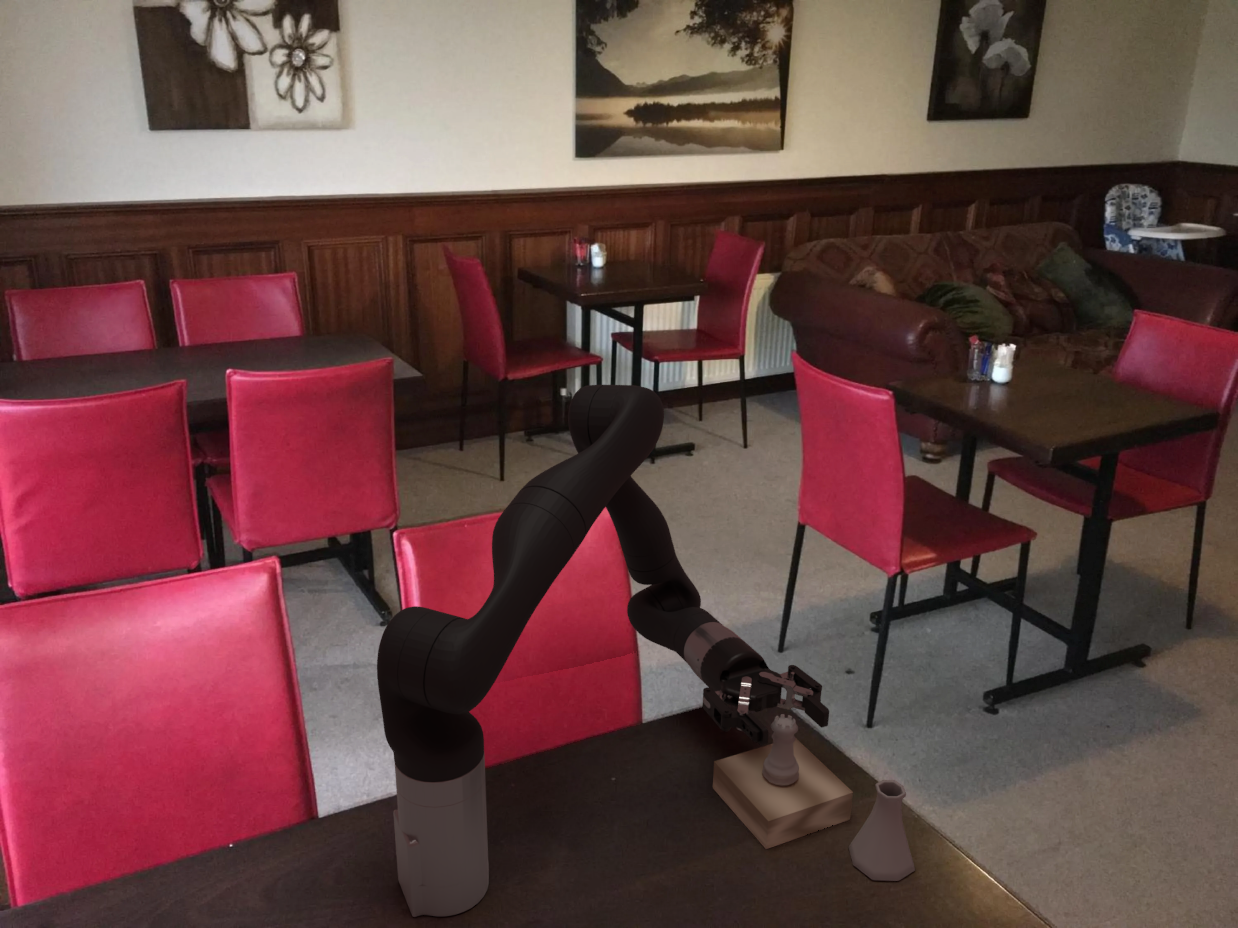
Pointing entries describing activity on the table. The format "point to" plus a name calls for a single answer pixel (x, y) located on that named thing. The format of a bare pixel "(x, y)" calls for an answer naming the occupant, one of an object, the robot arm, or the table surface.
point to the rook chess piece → (782, 753)
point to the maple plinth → (781, 796)
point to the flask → (883, 837)
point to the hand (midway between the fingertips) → (796, 729)
